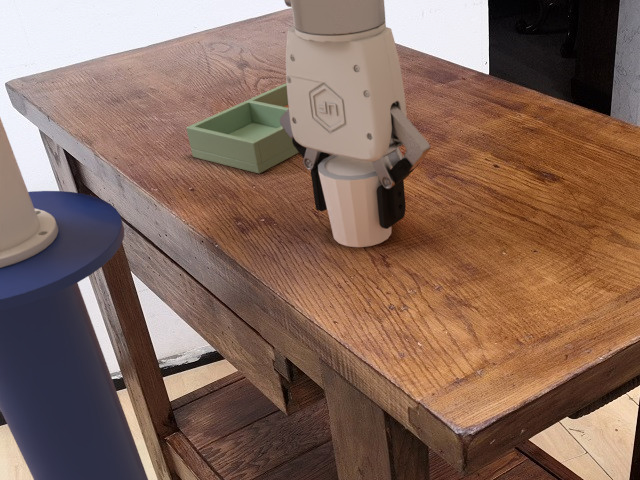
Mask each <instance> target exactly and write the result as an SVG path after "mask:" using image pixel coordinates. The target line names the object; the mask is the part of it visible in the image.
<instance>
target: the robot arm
mask: <svg viewBox="0 0 640 480" xmlns="http://www.w3.org/2000/svg"><path fill="white" fill-rule="evenodd" d="M283 1H284V3H285V6H286V7H289V8H291V15H292V22H293V25H292V26H290V27H288V29H287V31H286V32H287V34H286V44H285V78H286V79H285V83H287V95H288V106H289V108H288V110H287V111H286V112H285V113H284V114H283V115H282V116H281V118H280V124H281V126H282V127H283V128H284V130H285V131H286V133H287V134H288V135H289V137H290V138H292V142H293V145H294V147H295V148H296V149H297V150H298V152H299V153H298V154H300V156H301V157H302V158H303V160H302V163H303V166H304V167H305V169H306V170H308V171H310V177H311V184H312V191H313V198H314V206H315V210H317V211H319V212H324V211H327V207H326V202H325V198H324V194H323V189H322V185H321V181H320V176H319V172H318V165H319V163H320V162H321V161H322V160H323V159H325V158H327V157H329V156H331V155H337V156H342V157H346V158H351V159H355V160H360V161H365V162H372V164H373V166H374V168H375V171H376V173H377V175H378V177H379V179H380V181H381V183H382V185H381V186H379V187H378V188H377V201H378V212H379V223H380V226H381V227H382V228H385V229H388V228H389V227H391V226H394V225H395V224H396V223H398V222H400V221H401V220H403V219H404V218H405V216H406V195H405V194H406V193H405V182H404V181H405V179H407V178H409V176H410V174H411V173H412V172H413V171H414V170H415V169H416V168H417V167H419V164H420V163H421V162H422V161H423V159H424V158H425V157H426V155H428V153H429V152H430V150H431V144H430V142H428V140H427V139H426V138H425V137H424V135H422V133H421V132H420V131H419V130H418V128H416V126H415V125H414V124H413V122H411V121H410V119H409V118H408V113H407V104H406V103H407V101H406V95H405V87H404V81H403V74H402V69H401V63H400V58H399V53H398V50H397V46H396V41H395V37H394V34H393V31H392V28H390V27H388V26H387V25H386V24H387V21H386V7H385V0H283ZM401 146H404V147H405V153H404V154H403V153H402V152H401V150H400V147H401ZM385 156H388V159H389V161H390V163H391V165H392V169H391V170H390V168H389V166H388V163H387V161H386V159H385ZM28 192H29V190H28V188H27V185H26V182H25V180H24V177H23V175H22V171H21V169H20V166H19V164H18V161H17V159H16V155H15V153H14V150H13V148H12V145H11V142H10V140H9V137H8V134H7V132H6V129H5V126H4V123H3V121H2V118H1V117H0V268H3V267H6V266H9V265H13V264H16V263H18V262H21V261H24V260H26V259H28V258H30V257H32V256H34V255H36V254H38V253H40V252H41V251H43V250H44V249H46V248H47V247H48V246H49V245H50V244H51V243H52V242H53V241H54V240H55V238H56V237H57V234H58V226H57V223H56V221H55V218H54V217H53V216H52V215H51V214H49V213H47V212H45V211H43V210H39V209H34V206H33V204H32V201H31V198H30V196H29V193H28Z"/></svg>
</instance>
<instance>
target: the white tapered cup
mask: <svg viewBox="0 0 640 480" xmlns="http://www.w3.org/2000/svg"><path fill="white" fill-rule="evenodd" d="M385 159H386V161H387V163H388V166H389V168H390V170H391V169H392V168H393V167H392V165H391V163H390V161H389V159H388V156H385ZM318 172H319V176H320V181H321V185H322V189H323V194H324V198H325V202H326V207H327V209H326V211H327V215H328V219H329V224H330V228H331V231H332V237H333V240H335V241H336V242H337V243H338V244H340V245H342V246H345V247H350V248H351V247H352V248H366V247H372V246H375V245H379V244H381V243H383V242H384V241H387V240H388V239H389V237H391V235H392V230H393V229H392V226H393V225H392V226H391V227H389V228H388V229H385V228H382V227H381V226H380V223H379V212H378V201H377V188H378V187H379V186H381V185H382V183H381V181H380V179H379V177H378V175H377V173H376V171H375V168H374V166H373V164H372V162H365V161H360V160H355V159H351V158H346V157H342V156H337V155H333V154H332V155H331V156H329V157H327V158H325V159H323V160H322V161H321V162H320V163H319V165H318Z"/></svg>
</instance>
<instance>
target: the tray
mask: <svg viewBox="0 0 640 480" xmlns="http://www.w3.org/2000/svg"><path fill="white" fill-rule="evenodd" d="M288 108H289V106H288V95H287V82H285V83H283V84H280V85H278V86H277V87H274V88H272V89H270V90H267V91H265V92H263V93H261V94H257V95H256V96H253V97H251V98H249V99H246V100H244V101H242V102H240V103H238V104H236V105H234V106H231V107H229V108H227V109H224V110H222V111H220V112H218V113H215V114H213V115H211V116H208V117H207V118H204V119H201V120H199V121H198V122H196V123H193V124H191V125H189V126H186V127H185V129H186V134H187V138H188V141H189V146H190V149H191V154H192V157H193V158H196V159H200V160H204V161H208V162H211V163H215V164H220V165H223V166H227V167H231V168H235V169H238V170H243V171H247V172H251V173H255V174H261V173H264V172H265V171H267V170H269V169H271V168H273V167H275V166H277V165H279V164H280V163H282V162H285V160H288V159H290V158H292V157H293V156H295V155H297V154H300V153H299V152H298V150H297V149H296V148H295V147H294V145H293V142H292V138H290V137H289V135H288V134H287V133H286V131H285V130H284V128H283V127H282V126H281V124H280V118H281V116H282V115H283V114H284V113H285V112H286V111H287V110H288Z"/></svg>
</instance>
